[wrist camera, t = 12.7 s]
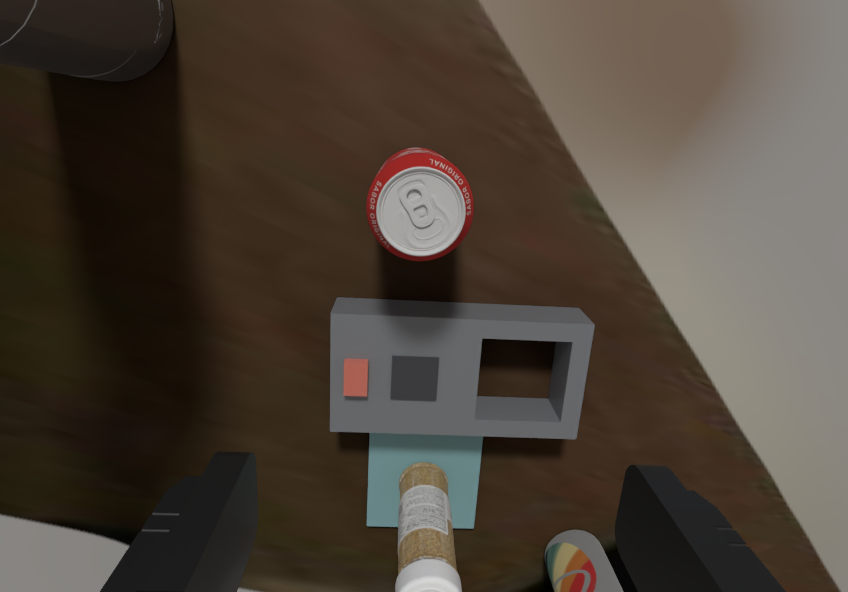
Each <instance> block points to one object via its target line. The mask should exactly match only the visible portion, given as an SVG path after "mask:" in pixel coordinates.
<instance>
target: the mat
mask: <svg viewBox="0 0 848 592" xmlns="http://www.w3.org/2000/svg"><path fill="white" fill-rule="evenodd" d="M482 443H483V436H456V435H424V434H393V433H370V437H369V469H368V501H367V526H380V527H398V516H399V514H398V513H399V502H400V490H399V479H400V476H401V474H402V473H403V471H404V470H405V469H406V468H408V467H409V466H410V465H412V464H414V463H419V462H427V463H432V464H435V465H437V466H438V467H439V468H441V469H442V470H443V471H444V472H445V474H446V476H447V478H448V496H449V501H450V507H451V515H452V524H453V528H467V529H474V520H475V511H476V501H477V491H478V481H479V472H480V462H481V452H482Z"/></svg>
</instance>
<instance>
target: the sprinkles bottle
mask: <svg viewBox="0 0 848 592" xmlns="http://www.w3.org/2000/svg"><path fill="white" fill-rule="evenodd" d="M399 490H400V502H399V513H398V514H399V516H398V557H399V559H398V564H399V565H398V577H397V580H396V585H395V592H462V589H461V581H460V577H459V575H458V573H457V570H456V560H455V558H456V557H455V549H454V540H453V524H452V515H451V507H450V501H449V496H448V478H447V476H446V474H445V472H444V471H443V470H442V469H441V468H439V467H438V466H437V465H435V464H432V463H427V462H419V463H414V464H412V465H410V466H409V467H408V468H406V469H405V470H404V471H403V473H402V474H401V476H400V479H399Z"/></svg>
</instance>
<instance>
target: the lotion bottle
mask: <svg viewBox="0 0 848 592" xmlns="http://www.w3.org/2000/svg"><path fill="white" fill-rule="evenodd" d="M545 563H546V567H547V570H548V574H549V577H550V580H551V583H552V586H553V589H554V592H623V590H622V588H621V586H620V584H619V581H618V579H617V577H616V575H615V573H614V571H613V569H612V567H611V565H610V562H609V560H608V558H607V556H606V554H605V552H604V550H603V548H602V546H601V544H600V543H599V541H598V540H597V539H596V538H595V537H594V536H593V535H592V534H590V533H588V532H586V531H582V530H569V531H565V532H562V533H560V534H558V535H557V536H555V537H554V538H553V539H552V540H551V541H550V542H549V544H548V545H547V547H546V550H545Z"/></svg>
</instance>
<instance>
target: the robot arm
mask: <svg viewBox="0 0 848 592" xmlns="http://www.w3.org/2000/svg"><path fill="white" fill-rule="evenodd" d="M172 32H173V10H172V4H171V0H0V64H5V65H11V66H17V67H23V68H30V69H36V70H42V71H48V72H54V73H60V74H66V75H71V76H77V77H84V78H90V79H96V80H103V81H114V82H121V81H128V80H133V79H135V78H138V77H140V76H143V75H145V74H146V73H147V72H149V71H150V70H152V69H153V68H154V67H155V66H156V65H157V64H158V63H159V61H160V60H161V59H162V58H163V57H164V55H165V52H166V50H167V48H168V46H169V44H170V40H171V36H172ZM257 524H258V501H257V477H256V459H255V455H254V453H247V452H216V453H215V454H214V456H213V457H212V459H211V461H210V462H209V464H208V466H207V467H206V469H205V471H204V473H203V474H202V476H186V477H185V478H183V479H182V480H181V481H179V482H178V483H177V484H175V485H174V486H173V487H171V488H170V489H169V490H168V491H166V492H165V494H164V495H163V497H162V498H161V500H160V501H159V503H158V504H157V506H156V507H155V509H154V510H153V514H152V515H150V516H149V518H148V519H147V521H146V522H145V524H144V526H143V527H142V531H141V532H139V533H138V535H137V536H136V538H135V539H134V541H133V542H132V544H131V545H130V547H129V548H128V550H127V551H126V553H125V554H124V556H123V557H122V559H121V561H120V562H119V564H118V565H117V567H116V568H115V570H114V571H113V573H112V574H111V576H110V577H109V579H108V580H107V582H106V583H105V585H104V586H103V588H102V589H101V591H100V592H237V589H238V587H239V584H240V581H241V578H242V576H243V573H244V570H245V567H246V565H247V562H248V559H249V556H250V553H251V551H252V548H253V545H254V541H255V537H256V531H257ZM615 538H616V544H617V548H618V551H619V554H620V556H621V558H622V560H623V562H624V564H625V566H626V568H627V570H628V572H629V574H630V576H631V578H632V580H633V582H634V584H635V586H636V588H637V590H638V592H786V591H785V590H784V589H783V588H782V586H781V585H780V584H779V583H778V582H777V580H776V579H775V578H774V577H773V575H772V574H771V573H770V572H769V571H768V569H767V568H766V567H765V566H764V565H763V563H762V562H761V561H760V560H759V558H758V557H757V556H756V555H755V554H754V552H753V551H752V550H751V549H750V547H746V543H745V541H744V540H743V539H742V538H741V537H740V535H739V534H738V533H737V532H736V531H733V529H732V526H731V524H730V523H729V522H728V521H727V520H726V518H725V517H724V516H723V515H722V513H721V512H720V511H719V510H718V509H717V507H715V506H714V505H712V504H711V503H710V502H708V501H707V500H706V499H704V498H703V497H701V496H700V495H699V494H697V493H696V492H695V491H687V490H686V489H685V487H684V486H683V485H682V483H681V482H680V481H679V480H678V478H677V477H676V476H675V474H674V473H673V472H672V471H671V470H670V468H668V467H667V466H653V465H630V466H629V467H628V468H627V470H626V473H625V478H624V483H623V488H622V493H621V498H620V503H619V508H618V513H617V518H616V524H615Z"/></svg>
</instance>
